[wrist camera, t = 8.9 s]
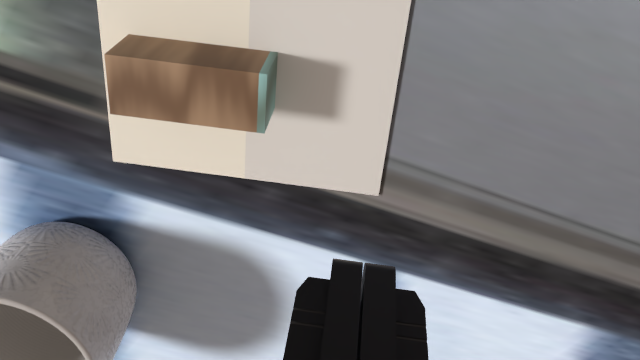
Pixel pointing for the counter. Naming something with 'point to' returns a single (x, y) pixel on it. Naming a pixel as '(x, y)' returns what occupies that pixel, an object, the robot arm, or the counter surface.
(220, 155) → the cream flat rectangular panel
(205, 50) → the walnut block
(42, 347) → the planter
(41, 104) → the counter surface
